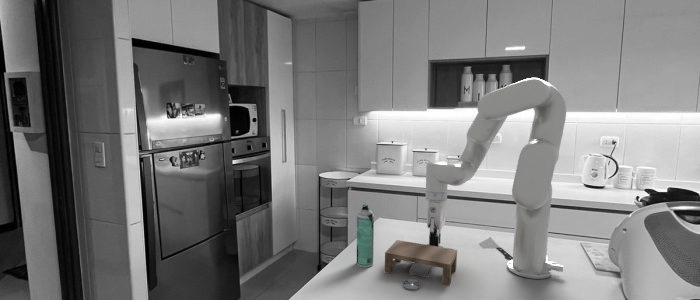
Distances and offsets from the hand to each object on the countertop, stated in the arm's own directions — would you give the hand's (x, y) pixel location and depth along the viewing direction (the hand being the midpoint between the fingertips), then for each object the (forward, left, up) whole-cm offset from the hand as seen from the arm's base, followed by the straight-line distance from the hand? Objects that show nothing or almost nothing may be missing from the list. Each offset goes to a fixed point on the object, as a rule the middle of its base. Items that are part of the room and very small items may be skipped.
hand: (434, 244), depth 136 cm
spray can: (+18, +23, -2) cm, 29 cm away
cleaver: (-17, -13, -2) cm, 22 cm away
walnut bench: (0, +20, -2) cm, 20 cm away
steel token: (0, +31, -2) cm, 31 cm away
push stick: (0, +11, -2) cm, 11 cm away
